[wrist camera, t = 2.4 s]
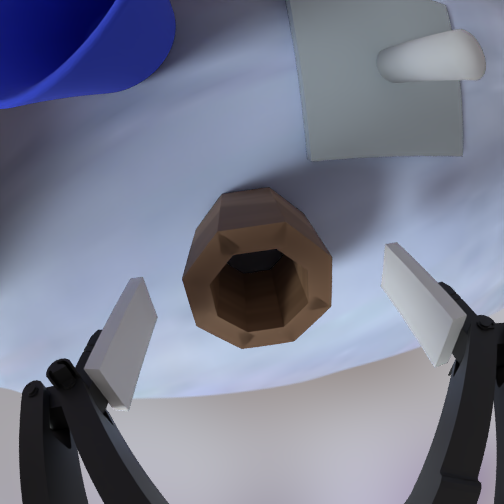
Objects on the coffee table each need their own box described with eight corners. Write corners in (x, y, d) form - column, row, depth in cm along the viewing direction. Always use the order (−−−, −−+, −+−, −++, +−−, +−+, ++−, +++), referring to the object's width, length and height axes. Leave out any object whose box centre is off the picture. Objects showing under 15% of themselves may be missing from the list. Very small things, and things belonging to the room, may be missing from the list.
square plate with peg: (307, 159, 17) (360, 194, 10) (282, -17, 11) (313, -85, 4) (454, 154, 17) (532, 184, 10) (438, 7, 11) (511, -11, 4)
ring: (210, 292, 21) (205, 352, 15) (189, 199, 18) (171, 239, 12) (307, 278, 21) (329, 334, 15) (301, 183, 18) (331, 215, 12)
